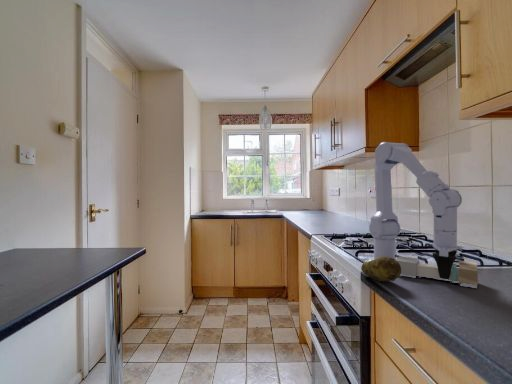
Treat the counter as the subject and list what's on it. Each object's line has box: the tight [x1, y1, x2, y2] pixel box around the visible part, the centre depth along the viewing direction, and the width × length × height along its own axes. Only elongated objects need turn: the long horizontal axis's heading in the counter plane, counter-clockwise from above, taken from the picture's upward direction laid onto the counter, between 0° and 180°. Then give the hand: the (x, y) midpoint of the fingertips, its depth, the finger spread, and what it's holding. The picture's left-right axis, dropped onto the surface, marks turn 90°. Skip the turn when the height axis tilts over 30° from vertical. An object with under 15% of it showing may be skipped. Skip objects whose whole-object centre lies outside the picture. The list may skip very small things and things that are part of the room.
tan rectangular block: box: [458, 260, 479, 285], centre depth 78 cm, size 7×4×6 cm, turn 143°
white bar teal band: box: [417, 262, 459, 281], centre depth 82 cm, size 5×12×4 cm, turn 53°
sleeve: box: [396, 255, 420, 276], centre depth 87 cm, size 6×6×5 cm
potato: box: [360, 257, 401, 282], centre depth 81 cm, size 8×13×8 cm, turn 178°
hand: (444, 275), depth 81 cm, fingers closed on white bar teal band, 5 cm apart
